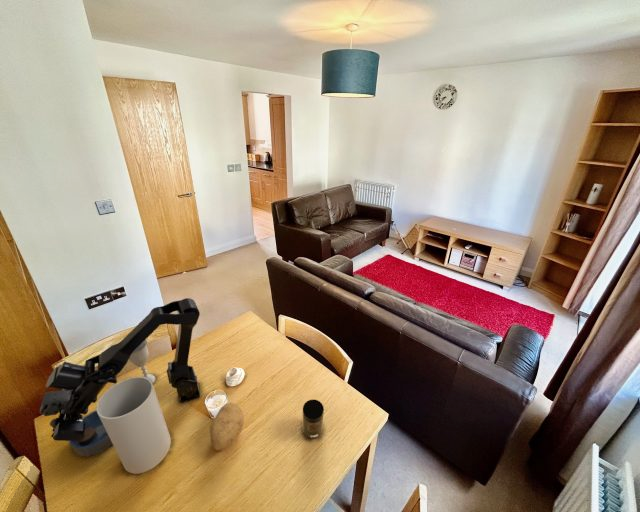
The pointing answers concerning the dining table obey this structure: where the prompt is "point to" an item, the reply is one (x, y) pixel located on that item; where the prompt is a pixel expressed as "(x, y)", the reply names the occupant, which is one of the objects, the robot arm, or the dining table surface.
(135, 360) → the chalice
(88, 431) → the ladle
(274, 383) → the dining table surface
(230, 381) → the whipped cream
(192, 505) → the dining table surface
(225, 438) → the potato
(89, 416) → the bowl
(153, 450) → the cylinder vase
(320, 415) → the supplement container
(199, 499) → the dining table surface
